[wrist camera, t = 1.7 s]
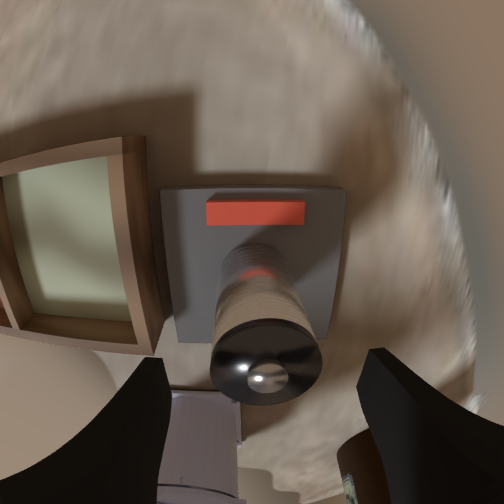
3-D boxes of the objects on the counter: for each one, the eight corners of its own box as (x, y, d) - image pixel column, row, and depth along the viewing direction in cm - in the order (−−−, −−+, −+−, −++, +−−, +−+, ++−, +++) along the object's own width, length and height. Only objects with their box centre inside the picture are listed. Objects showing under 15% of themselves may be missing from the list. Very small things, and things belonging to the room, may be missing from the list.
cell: (286, 303, 17) (315, 408, 10) (220, 305, 17) (214, 413, 10) (291, 242, 16) (334, 332, 9) (218, 243, 16) (204, 338, 8)
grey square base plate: (323, 329, 20) (328, 344, 18) (180, 333, 19) (177, 348, 18) (341, 187, 16) (351, 192, 14) (164, 187, 15) (156, 192, 14)
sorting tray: (164, 321, 19) (153, 355, 16) (-28, 302, 18) (-47, 320, 14) (145, 135, 14) (121, 136, 11) (-57, 184, 13) (-82, 194, 10)
